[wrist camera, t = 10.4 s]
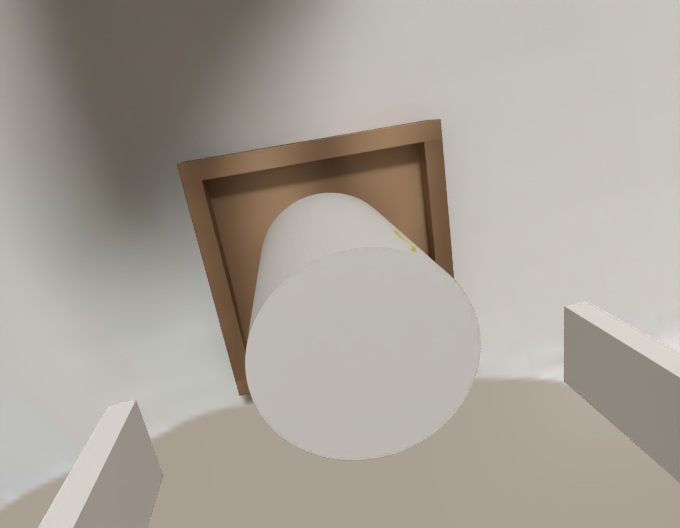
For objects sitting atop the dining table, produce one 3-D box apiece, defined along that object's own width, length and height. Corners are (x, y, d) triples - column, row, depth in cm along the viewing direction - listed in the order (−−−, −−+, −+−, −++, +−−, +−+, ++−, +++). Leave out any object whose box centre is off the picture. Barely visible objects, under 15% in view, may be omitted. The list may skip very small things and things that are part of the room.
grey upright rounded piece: (396, 317, 28) (473, 447, 17) (266, 328, 27) (256, 472, 16) (396, 189, 26) (488, 239, 14) (254, 196, 25) (232, 255, 13)
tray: (241, 379, 29) (239, 395, 27) (184, 161, 24) (177, 164, 23) (449, 336, 30) (459, 349, 28) (429, 119, 25) (440, 119, 24)
